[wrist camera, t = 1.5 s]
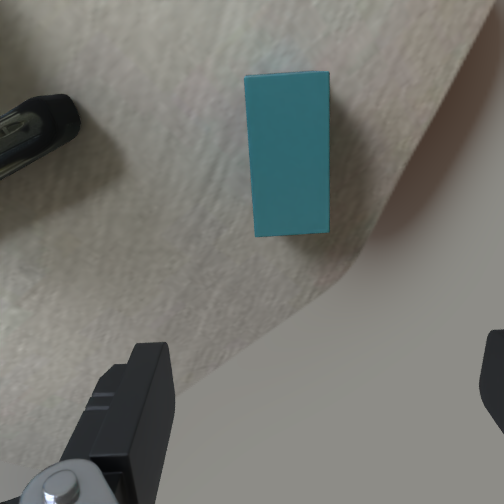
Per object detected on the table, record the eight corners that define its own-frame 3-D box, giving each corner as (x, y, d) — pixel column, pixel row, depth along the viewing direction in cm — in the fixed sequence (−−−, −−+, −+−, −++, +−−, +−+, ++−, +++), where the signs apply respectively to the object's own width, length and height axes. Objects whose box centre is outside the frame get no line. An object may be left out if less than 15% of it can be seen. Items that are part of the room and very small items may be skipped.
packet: (312, 70, 26) (329, 71, 21) (314, 201, 29) (329, 232, 24) (245, 75, 27) (244, 77, 21) (253, 205, 30) (254, 237, 24)
